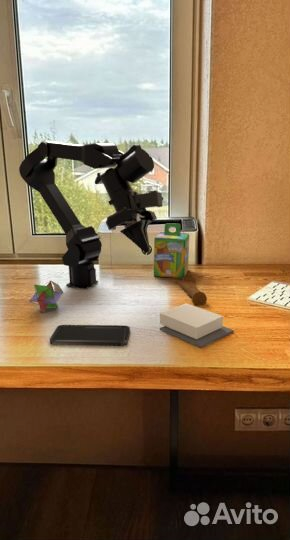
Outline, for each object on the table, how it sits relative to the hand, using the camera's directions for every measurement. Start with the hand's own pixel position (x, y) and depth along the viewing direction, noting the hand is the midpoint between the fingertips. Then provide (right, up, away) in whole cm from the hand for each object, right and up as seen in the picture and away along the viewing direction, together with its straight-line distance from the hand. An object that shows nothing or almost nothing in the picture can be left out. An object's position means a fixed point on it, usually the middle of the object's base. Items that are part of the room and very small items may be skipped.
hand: (147, 252), depth 96 cm
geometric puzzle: (-23, -14, -1) cm, 27 cm away
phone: (-11, -18, -15) cm, 26 cm away
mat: (+10, -17, -13) cm, 23 cm away
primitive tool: (+11, -10, +10) cm, 18 cm away
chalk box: (+7, -5, +26) cm, 27 cm away
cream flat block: (+5, -13, -9) cm, 17 cm away
